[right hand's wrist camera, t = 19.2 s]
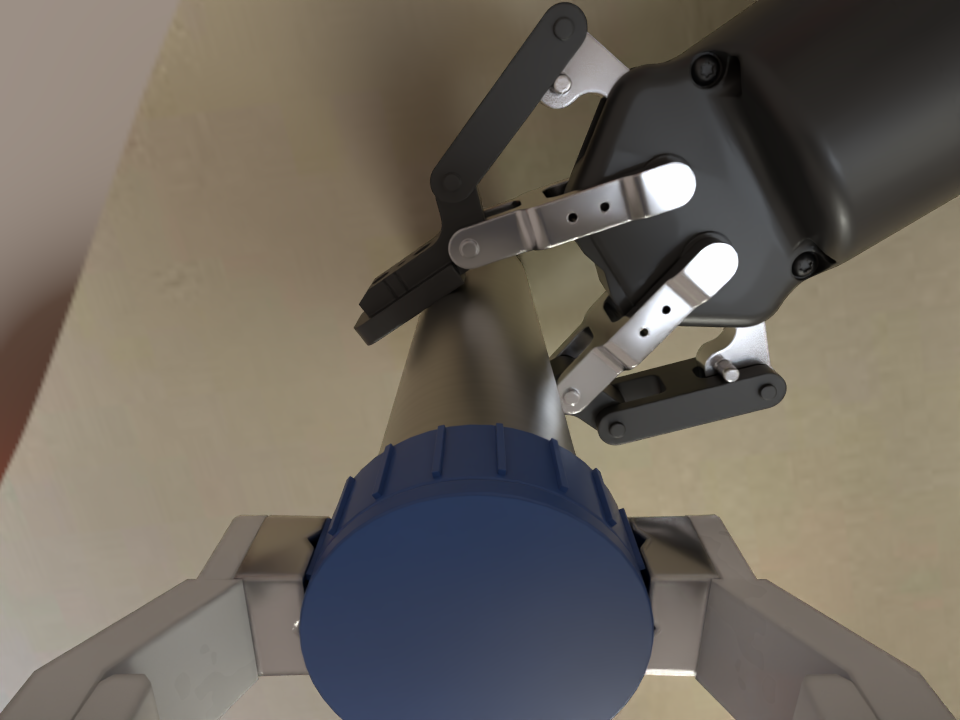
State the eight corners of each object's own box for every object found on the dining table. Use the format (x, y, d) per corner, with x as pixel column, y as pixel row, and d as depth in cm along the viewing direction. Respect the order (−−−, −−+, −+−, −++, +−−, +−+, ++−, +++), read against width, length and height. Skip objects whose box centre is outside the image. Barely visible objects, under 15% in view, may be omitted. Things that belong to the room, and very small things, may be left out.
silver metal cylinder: (546, 274, 26) (664, 570, 10) (490, 349, 28) (506, 731, 11) (466, 218, 26) (437, 432, 9) (412, 298, 27) (293, 623, 10)
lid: (280, 606, 11) (241, 702, 9) (406, 364, 9) (388, 424, 8) (532, 705, 12) (542, 811, 10) (689, 499, 10) (732, 582, 8)
